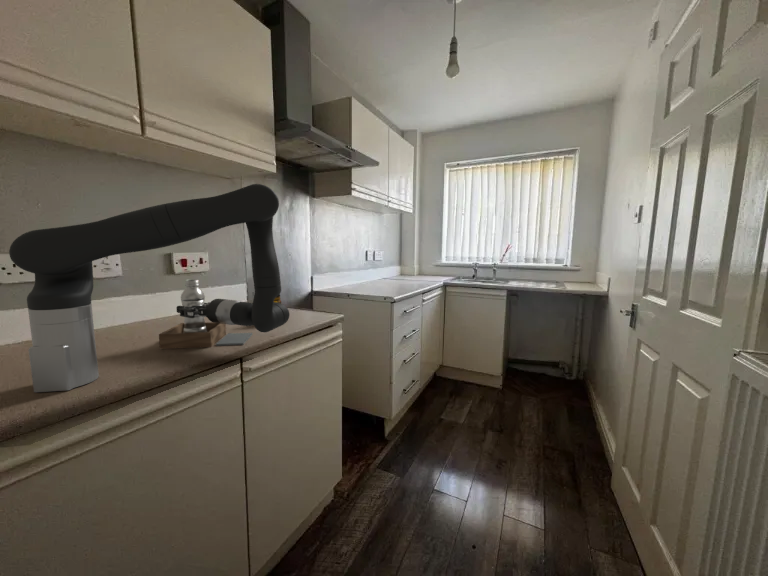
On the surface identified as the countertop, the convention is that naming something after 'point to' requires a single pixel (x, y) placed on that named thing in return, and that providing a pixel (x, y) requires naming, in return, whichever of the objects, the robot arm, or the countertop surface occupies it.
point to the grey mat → (234, 339)
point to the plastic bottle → (190, 298)
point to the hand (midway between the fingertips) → (188, 307)
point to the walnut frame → (191, 336)
